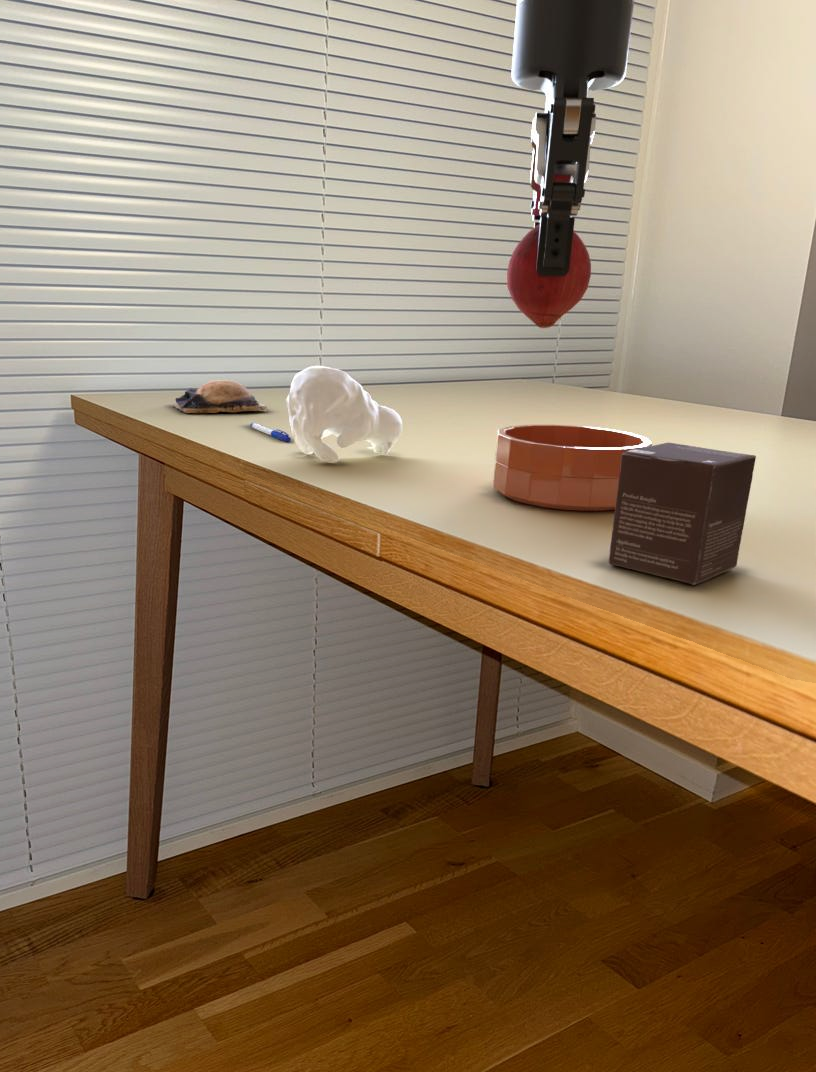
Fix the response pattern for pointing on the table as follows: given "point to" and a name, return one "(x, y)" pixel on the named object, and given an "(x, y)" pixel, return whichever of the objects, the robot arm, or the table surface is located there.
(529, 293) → the onion
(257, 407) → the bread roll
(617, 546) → the box
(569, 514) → the table surface
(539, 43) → the robot arm
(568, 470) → the bowl
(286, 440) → the ballpoint pen
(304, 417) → the white animal figurine
